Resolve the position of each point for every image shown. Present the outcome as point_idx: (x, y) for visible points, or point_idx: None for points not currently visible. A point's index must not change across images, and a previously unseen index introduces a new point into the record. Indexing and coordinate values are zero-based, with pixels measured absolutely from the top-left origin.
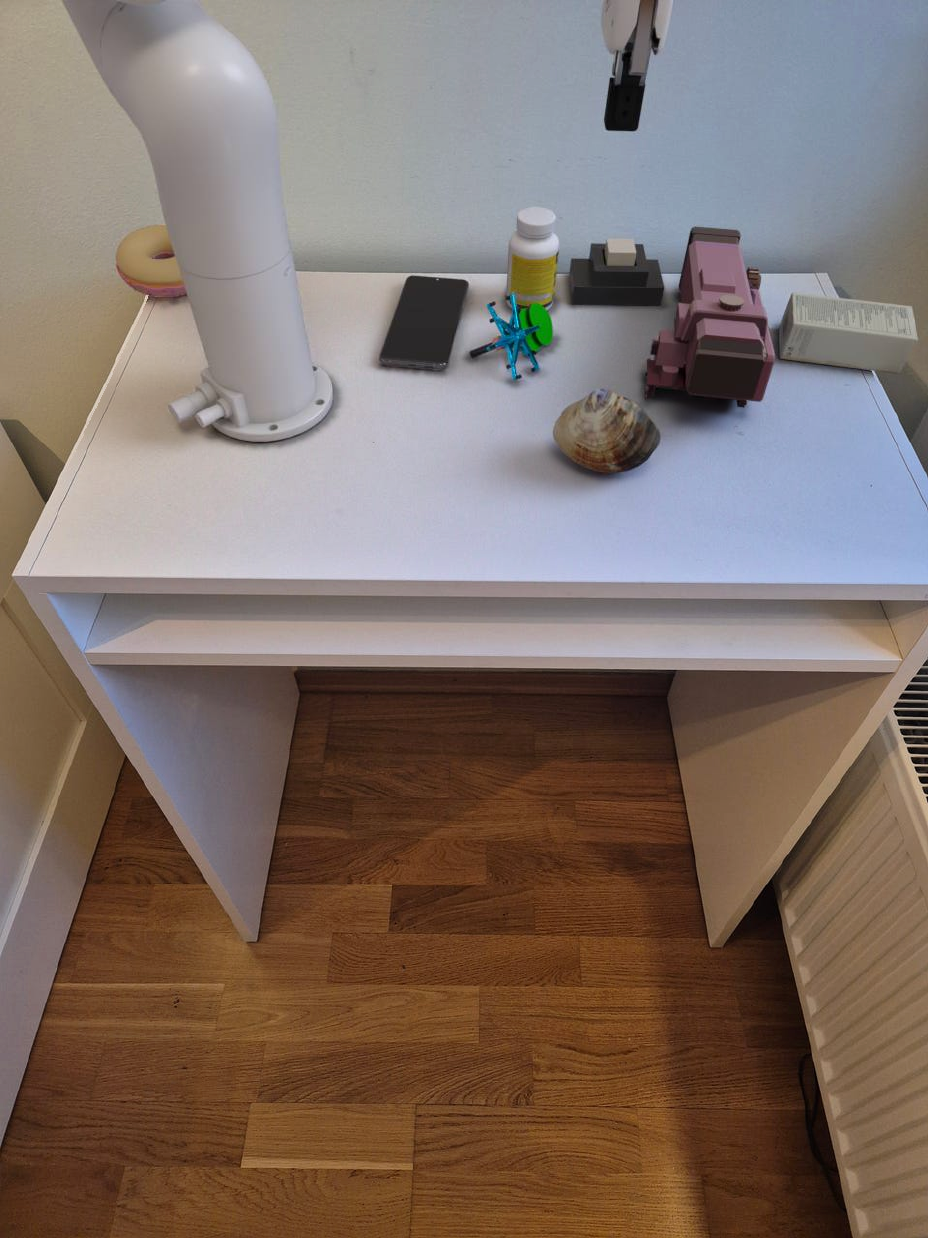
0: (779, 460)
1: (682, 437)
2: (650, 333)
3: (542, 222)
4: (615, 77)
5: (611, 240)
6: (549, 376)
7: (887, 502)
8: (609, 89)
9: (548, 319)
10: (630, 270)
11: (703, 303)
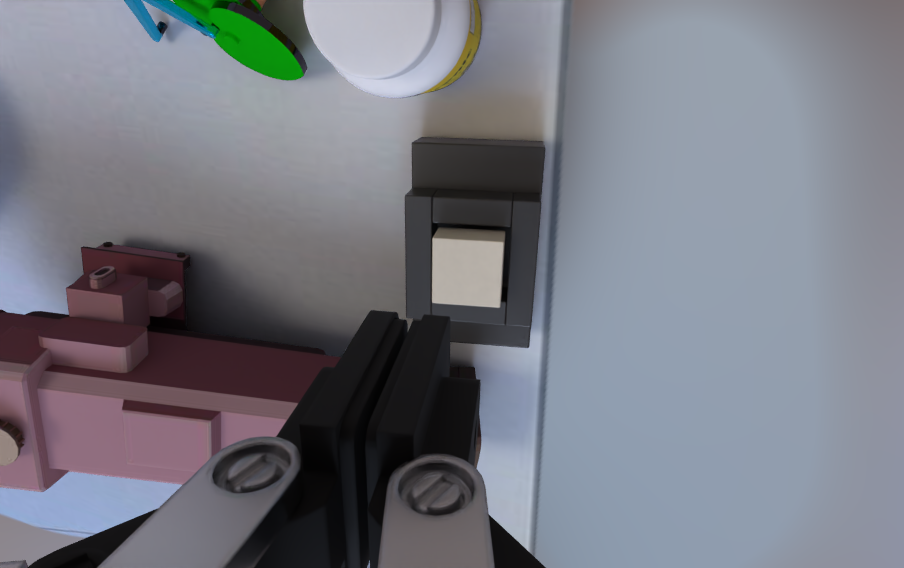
0: None
1: (53, 283)
2: (326, 285)
3: (321, 27)
4: (268, 467)
5: (490, 252)
6: (159, 64)
7: (7, 491)
8: (391, 398)
9: (289, 68)
10: (409, 279)
11: (6, 391)
